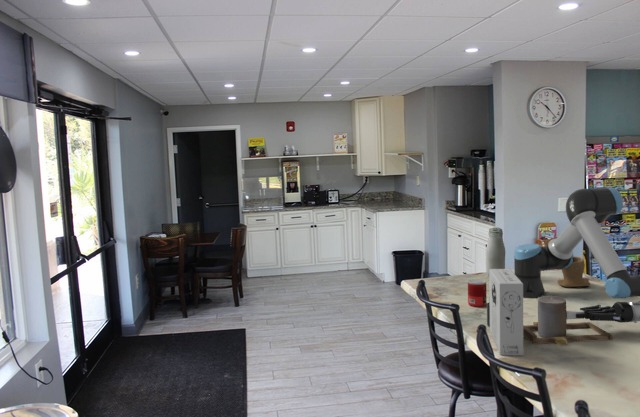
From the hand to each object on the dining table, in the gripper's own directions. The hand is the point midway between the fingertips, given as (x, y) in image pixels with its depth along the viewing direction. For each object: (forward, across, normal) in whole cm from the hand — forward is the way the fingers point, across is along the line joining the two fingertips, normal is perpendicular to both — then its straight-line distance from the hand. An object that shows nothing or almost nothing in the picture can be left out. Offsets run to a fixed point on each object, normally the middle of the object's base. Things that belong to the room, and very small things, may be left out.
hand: (565, 315), depth 184 cm
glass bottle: (-7, +85, -8) cm, 85 cm away
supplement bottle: (+21, +13, -8) cm, 26 cm away
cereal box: (+25, -5, -8) cm, 27 cm away
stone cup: (-39, +62, -8) cm, 74 cm away
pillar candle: (+5, 0, -8) cm, 9 cm away
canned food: (+19, +41, -8) cm, 46 cm away
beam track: (+1, 0, -8) cm, 8 cm away
